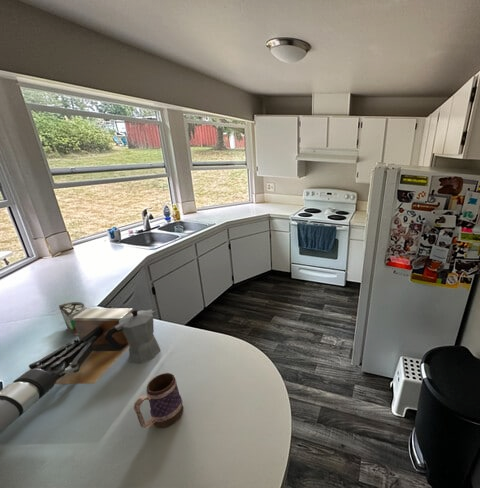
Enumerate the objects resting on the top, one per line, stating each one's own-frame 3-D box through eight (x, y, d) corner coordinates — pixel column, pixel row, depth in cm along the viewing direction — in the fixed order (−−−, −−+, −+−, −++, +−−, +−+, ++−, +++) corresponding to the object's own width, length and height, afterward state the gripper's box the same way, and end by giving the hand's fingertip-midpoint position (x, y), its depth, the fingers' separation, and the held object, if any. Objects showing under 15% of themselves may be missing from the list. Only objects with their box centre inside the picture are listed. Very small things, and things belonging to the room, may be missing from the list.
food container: (98, 330, 97) (91, 308, 93) (77, 339, 92) (68, 316, 88) (86, 318, 103) (79, 297, 99) (66, 326, 98) (58, 304, 95)
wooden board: (29, 386, 73) (28, 384, 73) (96, 331, 96) (96, 330, 95) (94, 385, 74) (93, 383, 74) (145, 331, 97) (144, 330, 96)
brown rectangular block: (81, 344, 88) (72, 318, 85) (95, 333, 94) (87, 308, 90) (128, 344, 89) (121, 318, 85) (139, 333, 95) (133, 308, 91)
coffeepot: (156, 338, 93) (147, 297, 87) (172, 347, 89) (163, 304, 83) (108, 367, 80) (92, 320, 74) (124, 379, 76) (109, 331, 70)
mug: (171, 399, 71) (164, 366, 67) (189, 409, 68) (183, 375, 64) (133, 433, 62) (122, 397, 58) (152, 446, 59) (142, 410, 55)
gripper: (4, 402, 65) (83, 339, 87) (56, 401, 66) (121, 339, 88) (-8, 380, 63) (77, 321, 85) (47, 379, 63) (116, 321, 85)
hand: (99, 330), depth 86 cm, fingers closed
